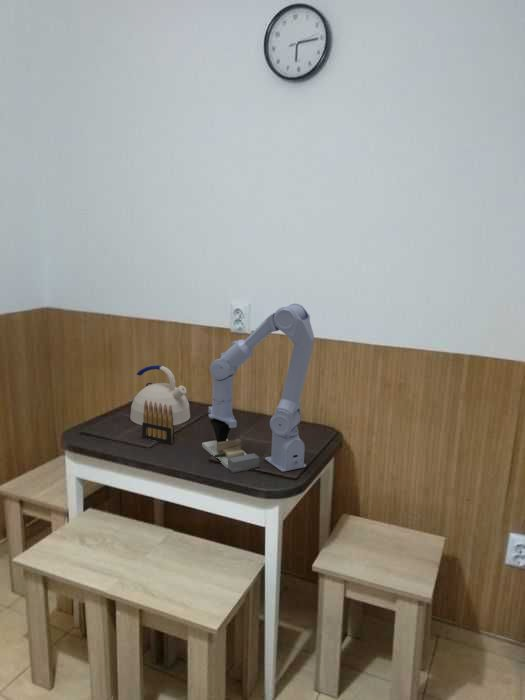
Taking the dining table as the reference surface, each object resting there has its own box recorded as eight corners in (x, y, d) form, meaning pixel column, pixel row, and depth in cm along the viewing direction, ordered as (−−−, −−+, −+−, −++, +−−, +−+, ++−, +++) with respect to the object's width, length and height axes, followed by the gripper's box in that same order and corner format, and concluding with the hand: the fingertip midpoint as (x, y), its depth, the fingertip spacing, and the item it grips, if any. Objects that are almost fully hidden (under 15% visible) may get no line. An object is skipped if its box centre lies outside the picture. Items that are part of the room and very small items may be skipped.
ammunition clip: (141, 438, 164) (141, 400, 161) (145, 436, 166) (145, 398, 163) (171, 444, 160) (171, 406, 157) (174, 442, 161) (174, 404, 159)
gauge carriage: (247, 454, 151) (247, 444, 150) (218, 460, 146) (218, 450, 145) (238, 448, 155) (239, 438, 154) (210, 453, 150) (210, 443, 150)
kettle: (165, 432, 170) (165, 376, 166) (116, 419, 180) (115, 366, 176) (203, 415, 187) (203, 364, 183) (157, 404, 197) (157, 356, 193)
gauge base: (259, 467, 146) (259, 457, 146) (232, 473, 142) (233, 462, 142) (226, 442, 163) (226, 432, 162) (202, 446, 159) (202, 437, 159)
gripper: (199, 393, 158) (198, 437, 161) (221, 407, 146) (219, 454, 149) (220, 390, 161) (219, 433, 164) (243, 404, 149) (242, 450, 152)
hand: (221, 443), depth 157 cm, fingers closed
